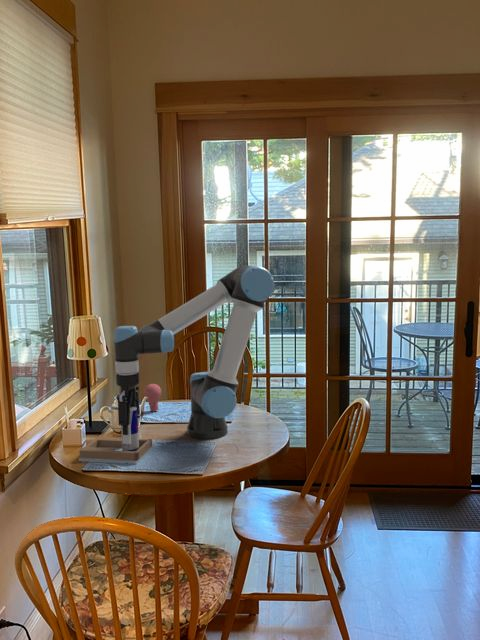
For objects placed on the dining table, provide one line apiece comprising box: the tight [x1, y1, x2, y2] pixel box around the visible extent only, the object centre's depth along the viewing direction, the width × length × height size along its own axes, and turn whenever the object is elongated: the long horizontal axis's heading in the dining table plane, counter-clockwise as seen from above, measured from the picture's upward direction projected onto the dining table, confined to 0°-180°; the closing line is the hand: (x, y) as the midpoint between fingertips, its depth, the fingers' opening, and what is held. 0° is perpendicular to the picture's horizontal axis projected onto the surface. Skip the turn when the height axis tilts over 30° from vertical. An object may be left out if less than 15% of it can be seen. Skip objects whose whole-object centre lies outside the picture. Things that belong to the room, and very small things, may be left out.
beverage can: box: [120, 407, 140, 451], centre depth 192 cm, size 6×6×15 cm
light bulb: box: [144, 383, 162, 412], centre depth 244 cm, size 7×7×12 cm
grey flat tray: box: [78, 436, 154, 465], centre depth 194 cm, size 20×16×3 cm
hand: (130, 440), depth 192 cm, fingers closed on beverage can, 5 cm apart
